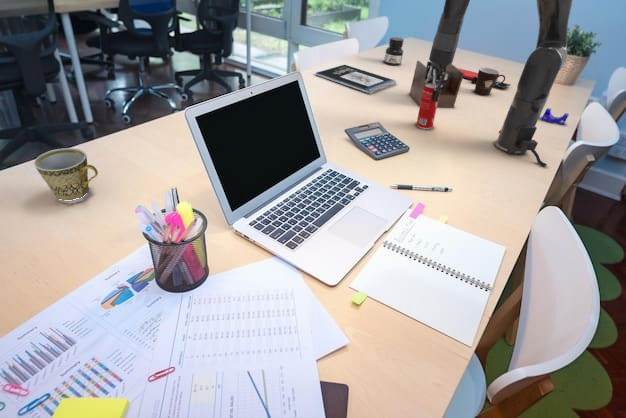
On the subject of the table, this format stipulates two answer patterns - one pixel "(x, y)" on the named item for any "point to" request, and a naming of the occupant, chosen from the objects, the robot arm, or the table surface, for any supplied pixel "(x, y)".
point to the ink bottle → (394, 51)
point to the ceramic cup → (66, 173)
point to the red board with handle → (474, 76)
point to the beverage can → (427, 108)
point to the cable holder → (551, 118)
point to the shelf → (453, 85)
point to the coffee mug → (486, 81)
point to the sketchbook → (356, 78)
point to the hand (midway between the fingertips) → (430, 97)
